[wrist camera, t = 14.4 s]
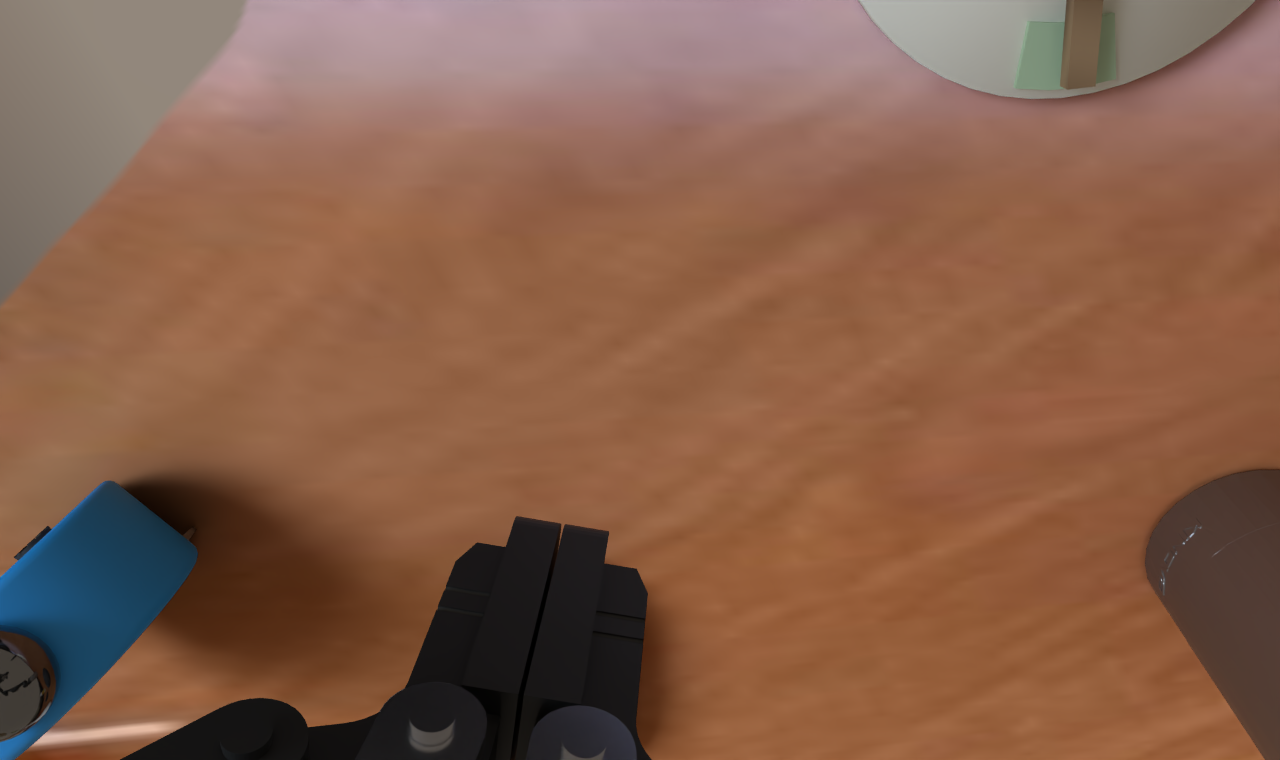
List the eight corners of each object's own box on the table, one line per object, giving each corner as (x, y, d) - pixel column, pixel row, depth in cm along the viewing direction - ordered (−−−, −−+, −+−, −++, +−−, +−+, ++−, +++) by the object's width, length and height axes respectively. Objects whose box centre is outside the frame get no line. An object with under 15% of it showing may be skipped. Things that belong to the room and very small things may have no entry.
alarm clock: (107, 623, 53) (-96, 861, 40) (16, 556, 51) (-229, 782, 38) (243, 510, 48) (66, 735, 35) (149, 432, 47) (-76, 638, 33)
